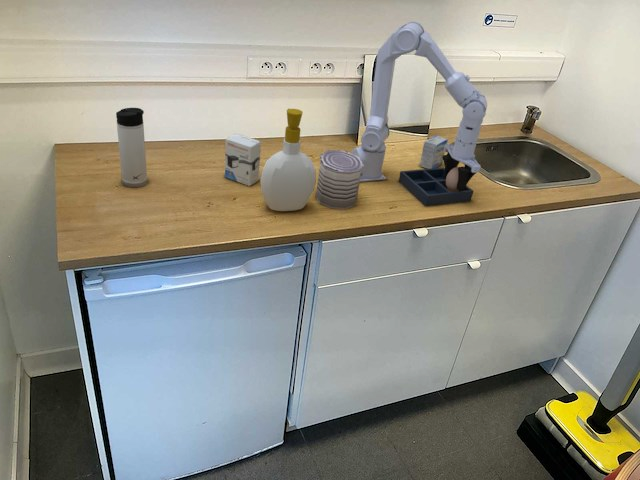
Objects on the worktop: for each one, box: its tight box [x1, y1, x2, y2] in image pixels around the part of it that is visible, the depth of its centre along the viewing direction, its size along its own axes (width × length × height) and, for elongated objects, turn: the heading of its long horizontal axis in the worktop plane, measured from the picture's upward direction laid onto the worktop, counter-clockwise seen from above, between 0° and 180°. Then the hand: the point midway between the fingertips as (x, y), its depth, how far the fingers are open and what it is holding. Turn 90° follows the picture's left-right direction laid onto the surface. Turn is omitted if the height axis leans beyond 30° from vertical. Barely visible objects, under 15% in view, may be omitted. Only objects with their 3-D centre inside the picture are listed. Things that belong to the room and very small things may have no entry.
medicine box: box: [419, 135, 449, 169], centre depth 172 cm, size 8×4×9 cm, turn 143°
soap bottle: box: [259, 108, 317, 212], centre depth 135 cm, size 14×9×26 cm, turn 108°
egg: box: [446, 166, 459, 192], centre depth 155 cm, size 5×5×7 cm
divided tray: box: [398, 167, 475, 207], centre depth 158 cm, size 15×15×3 cm
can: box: [315, 149, 364, 210], centre depth 145 cm, size 11×11×12 cm
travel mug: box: [115, 107, 148, 188], centre depth 138 cm, size 6×7×20 cm
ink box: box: [224, 133, 262, 187], centre depth 149 cm, size 8×5×12 cm, turn 62°
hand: (454, 184), depth 156 cm, fingers open, 5 cm apart
